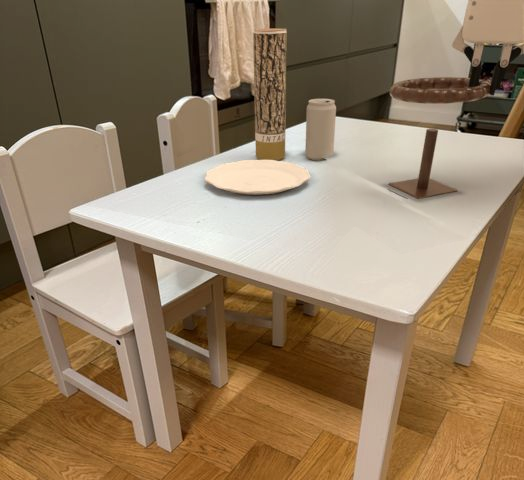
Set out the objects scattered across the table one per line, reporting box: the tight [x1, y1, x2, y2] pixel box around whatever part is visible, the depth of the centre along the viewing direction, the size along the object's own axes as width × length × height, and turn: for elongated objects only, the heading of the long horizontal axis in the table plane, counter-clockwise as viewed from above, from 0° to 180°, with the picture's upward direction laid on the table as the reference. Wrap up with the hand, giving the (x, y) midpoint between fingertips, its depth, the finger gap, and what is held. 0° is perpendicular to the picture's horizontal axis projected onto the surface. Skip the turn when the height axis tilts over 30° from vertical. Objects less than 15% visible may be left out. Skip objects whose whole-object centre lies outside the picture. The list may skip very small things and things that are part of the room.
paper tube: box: [252, 28, 288, 161], centre depth 108 cm, size 7×7×25 cm
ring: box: [388, 76, 491, 105], centre depth 84 cm, size 16×16×2 cm
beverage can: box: [304, 98, 337, 162], centre depth 111 cm, size 6×6×12 cm
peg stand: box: [387, 128, 459, 200], centre depth 91 cm, size 9×9×11 cm
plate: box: [204, 159, 311, 196], centre depth 100 cm, size 21×21×2 cm
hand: (482, 92), depth 82 cm, fingers closed on ring, 2 cm apart
